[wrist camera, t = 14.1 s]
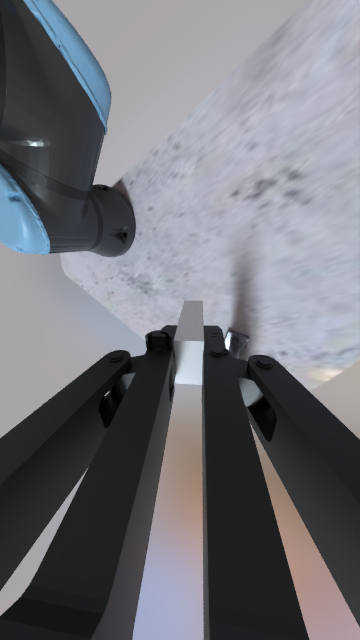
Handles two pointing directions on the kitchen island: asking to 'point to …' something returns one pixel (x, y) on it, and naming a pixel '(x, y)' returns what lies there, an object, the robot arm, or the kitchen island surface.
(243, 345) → the metal joystick
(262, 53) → the kitchen island surface
